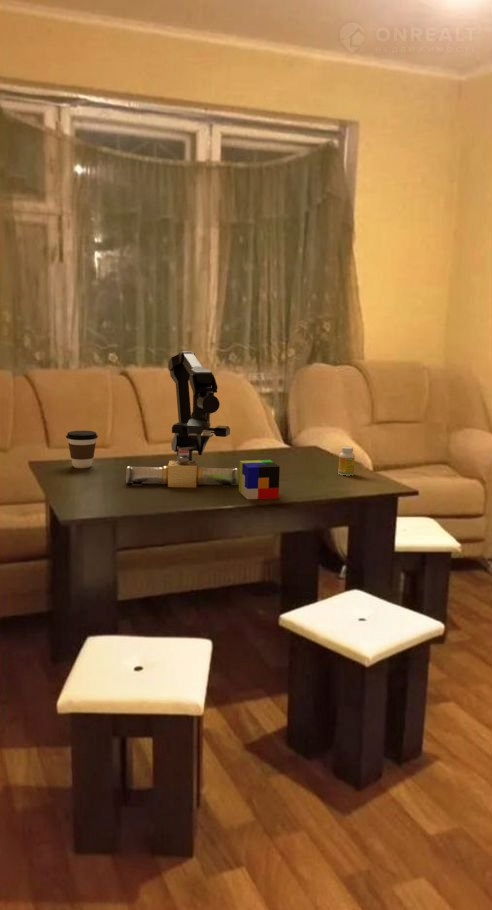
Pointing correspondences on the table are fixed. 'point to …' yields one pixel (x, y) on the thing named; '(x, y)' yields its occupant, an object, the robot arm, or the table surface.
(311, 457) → the table surface
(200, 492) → the table surface
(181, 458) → the lever
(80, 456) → the coffee cup
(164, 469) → the valve
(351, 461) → the supplement bottle
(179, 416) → the robot arm
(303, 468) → the table surface
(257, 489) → the puzzle toy
